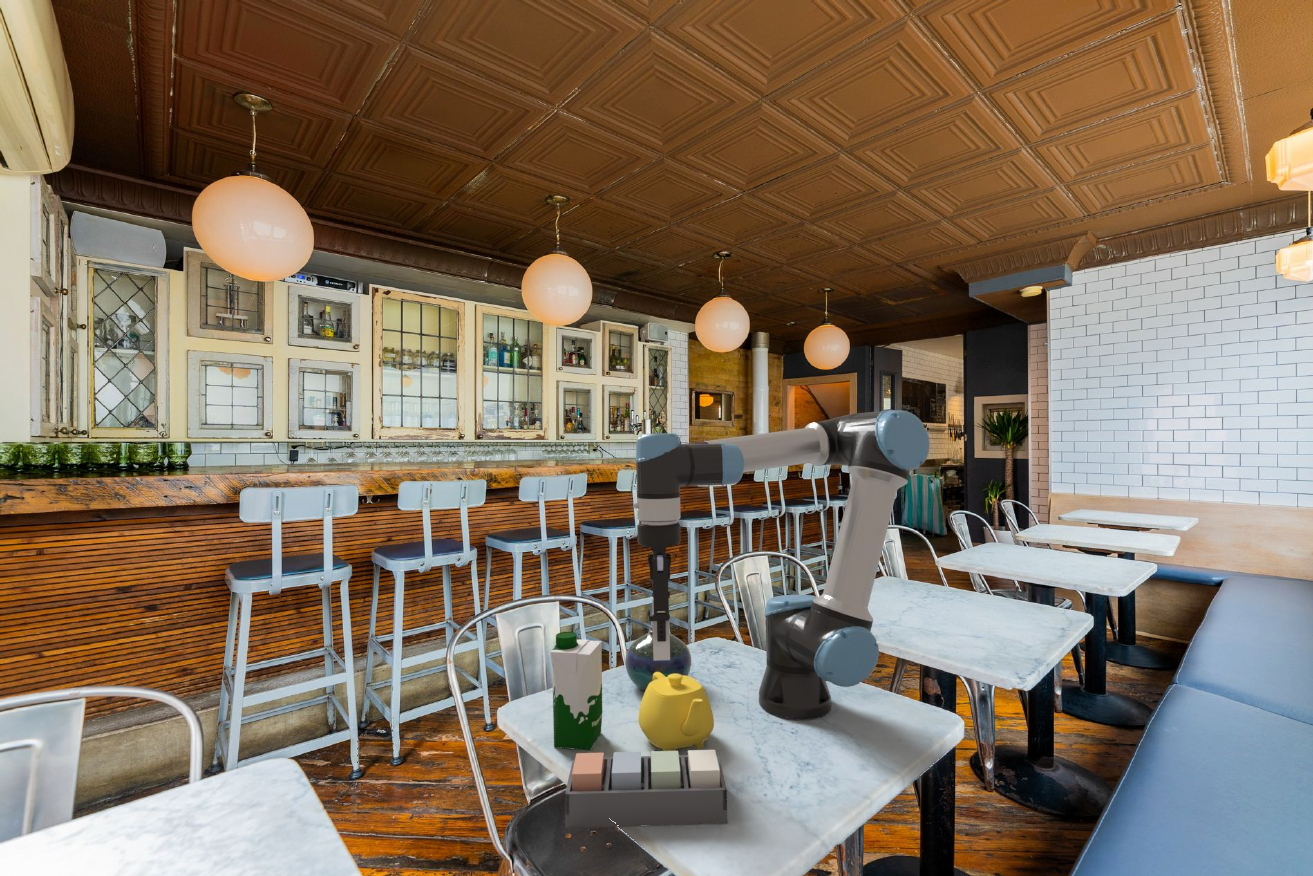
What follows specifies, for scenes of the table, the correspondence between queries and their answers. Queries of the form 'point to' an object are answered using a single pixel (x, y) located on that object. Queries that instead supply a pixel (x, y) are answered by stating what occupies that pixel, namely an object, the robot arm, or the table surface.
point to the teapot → (675, 712)
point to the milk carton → (576, 691)
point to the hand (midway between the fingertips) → (660, 646)
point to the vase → (644, 666)
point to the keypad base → (646, 802)
